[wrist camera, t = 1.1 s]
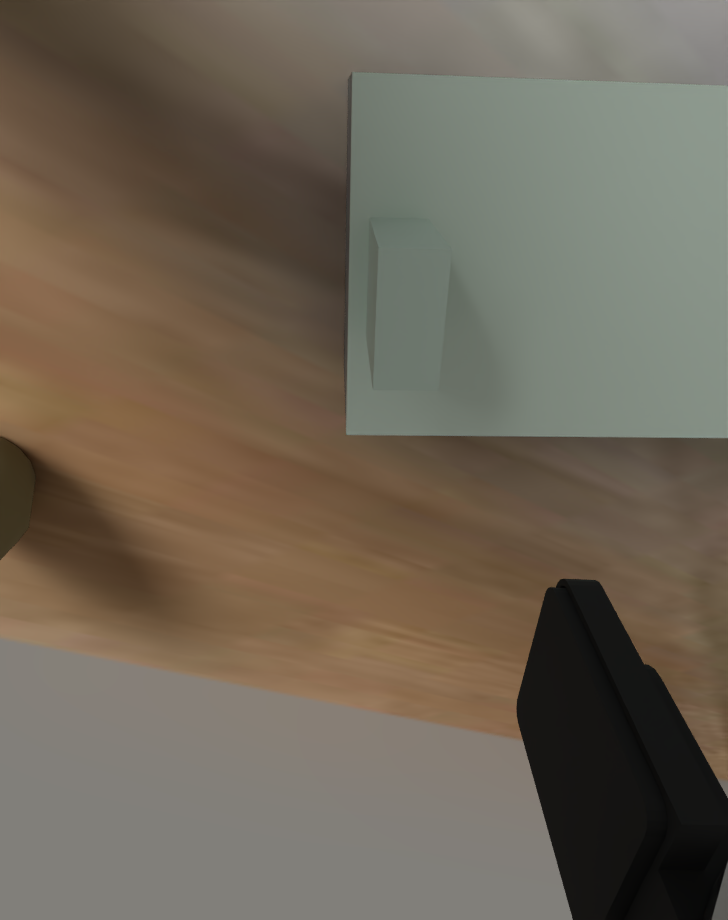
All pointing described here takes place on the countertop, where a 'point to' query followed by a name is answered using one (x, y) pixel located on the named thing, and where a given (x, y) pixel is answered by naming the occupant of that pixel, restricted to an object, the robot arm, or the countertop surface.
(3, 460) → the squeeze bottle
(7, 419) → the countertop surface
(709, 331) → the lid
